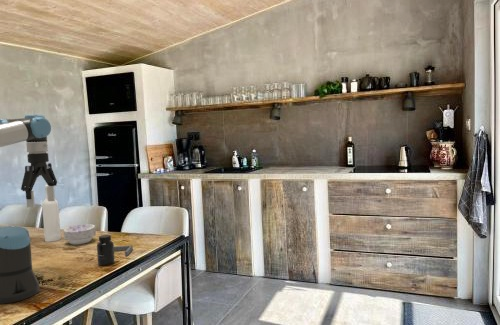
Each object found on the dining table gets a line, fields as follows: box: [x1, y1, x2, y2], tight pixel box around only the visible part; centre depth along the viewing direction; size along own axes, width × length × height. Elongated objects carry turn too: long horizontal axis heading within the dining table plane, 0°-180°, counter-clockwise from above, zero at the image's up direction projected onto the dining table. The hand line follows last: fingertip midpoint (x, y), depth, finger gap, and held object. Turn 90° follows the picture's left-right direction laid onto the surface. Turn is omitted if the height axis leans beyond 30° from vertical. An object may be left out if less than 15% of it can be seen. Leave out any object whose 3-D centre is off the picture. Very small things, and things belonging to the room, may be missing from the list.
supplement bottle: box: [96, 234, 115, 267], centre depth 166 cm, size 7×7×12 cm
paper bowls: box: [63, 223, 97, 246], centre depth 202 cm, size 15×15×8 cm
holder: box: [96, 240, 134, 257], centre depth 184 cm, size 19×18×3 cm
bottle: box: [41, 184, 62, 243], centre depth 208 cm, size 8×8×30 cm
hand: (41, 204), depth 160 cm, fingers open, 13 cm apart
